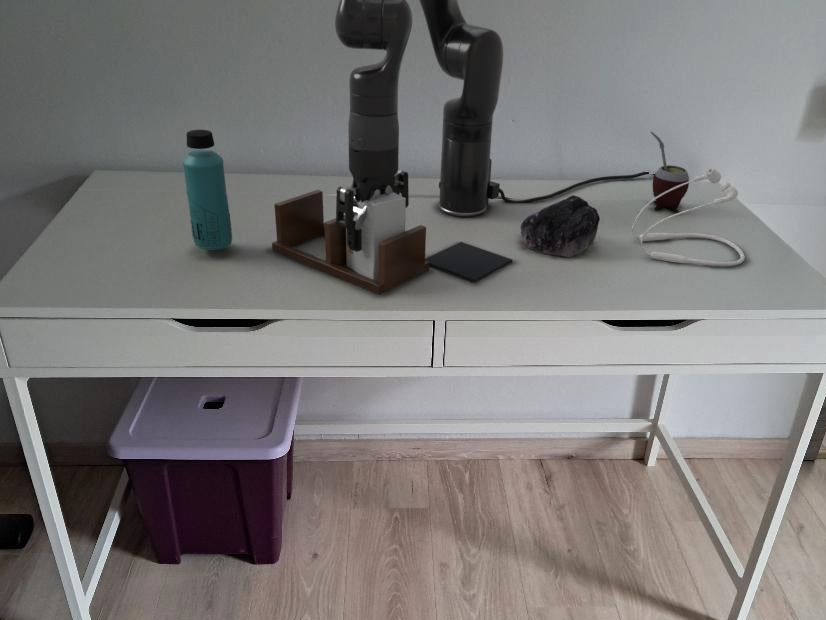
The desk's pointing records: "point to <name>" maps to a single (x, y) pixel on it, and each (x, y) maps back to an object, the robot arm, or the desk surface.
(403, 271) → the rack
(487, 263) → the mat
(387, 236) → the small box
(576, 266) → the desk surface
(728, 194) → the earphone
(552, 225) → the crystal cluster
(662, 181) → the mate gourd
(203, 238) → the beverage bottle
